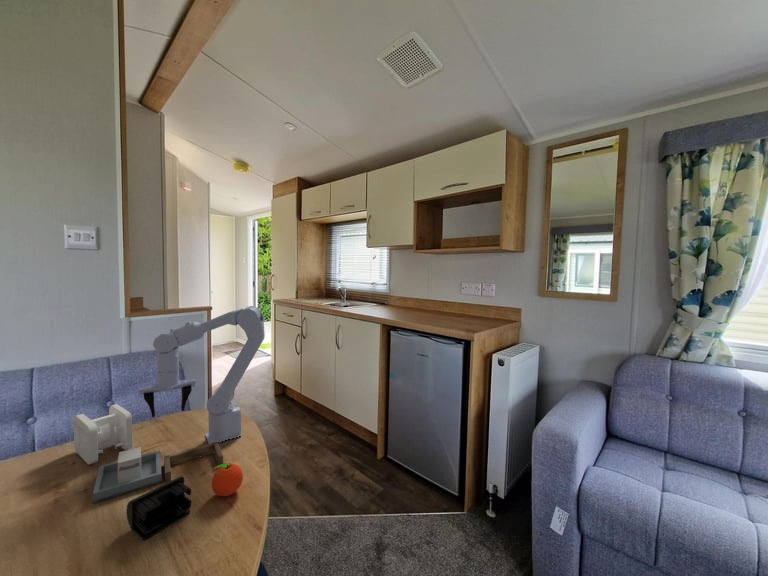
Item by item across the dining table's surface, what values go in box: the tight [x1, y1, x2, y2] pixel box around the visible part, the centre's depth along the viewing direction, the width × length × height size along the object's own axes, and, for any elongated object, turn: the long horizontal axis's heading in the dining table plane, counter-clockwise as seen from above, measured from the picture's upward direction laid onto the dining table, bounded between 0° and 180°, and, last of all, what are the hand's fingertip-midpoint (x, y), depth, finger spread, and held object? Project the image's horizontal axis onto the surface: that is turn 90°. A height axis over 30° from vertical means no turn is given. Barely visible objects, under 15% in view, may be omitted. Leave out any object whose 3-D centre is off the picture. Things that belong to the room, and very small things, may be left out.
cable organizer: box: [72, 403, 133, 465], centre depth 93 cm, size 15×11×12 cm
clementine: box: [211, 463, 244, 497], centre depth 77 cm, size 8×7×7 cm
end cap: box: [126, 476, 193, 541], centre depth 69 cm, size 10×7×7 cm
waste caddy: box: [117, 446, 142, 484], centre depth 81 cm, size 4×7×6 cm, turn 37°
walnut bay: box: [163, 442, 224, 484], centre depth 88 cm, size 13×9×2 cm
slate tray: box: [92, 450, 162, 505], centre depth 82 cm, size 13×13×2 cm
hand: (168, 412), depth 100 cm, fingers open, 7 cm apart
